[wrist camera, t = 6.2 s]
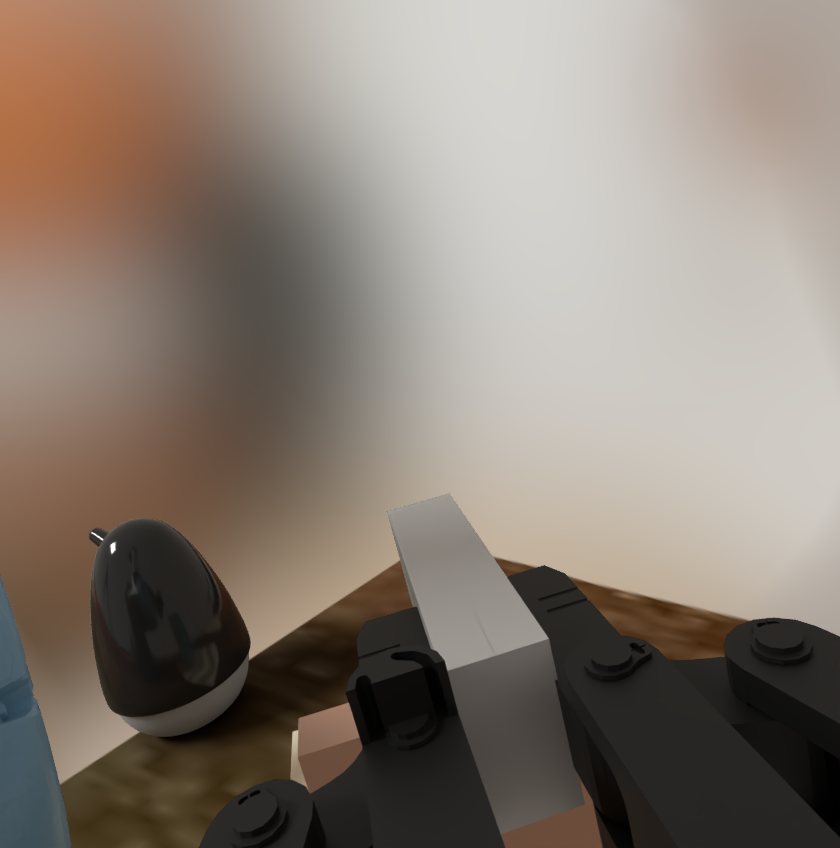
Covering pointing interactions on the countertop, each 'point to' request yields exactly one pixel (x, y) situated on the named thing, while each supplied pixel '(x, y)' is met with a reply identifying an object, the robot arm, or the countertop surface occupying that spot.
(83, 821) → the countertop surface
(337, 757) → the tile
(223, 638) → the black glossy egg shape
